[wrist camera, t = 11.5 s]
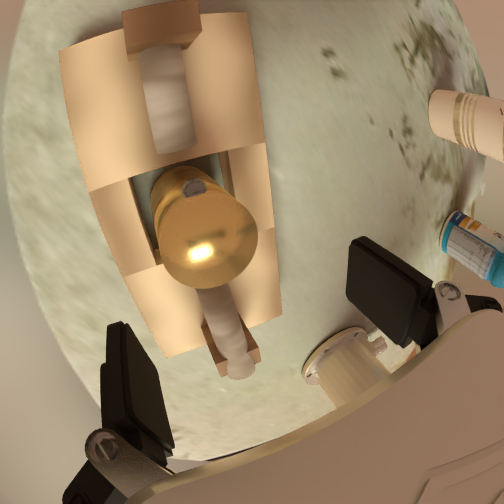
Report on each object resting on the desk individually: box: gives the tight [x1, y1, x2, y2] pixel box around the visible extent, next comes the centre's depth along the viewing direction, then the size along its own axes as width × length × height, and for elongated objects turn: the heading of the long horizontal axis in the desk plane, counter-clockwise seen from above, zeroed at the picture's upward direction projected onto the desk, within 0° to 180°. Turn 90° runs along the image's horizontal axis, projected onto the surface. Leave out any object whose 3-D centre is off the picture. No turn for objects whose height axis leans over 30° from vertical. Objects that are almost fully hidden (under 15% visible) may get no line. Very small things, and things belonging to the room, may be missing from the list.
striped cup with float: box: [428, 89, 504, 164], centre depth 21 cm, size 10×8×12 cm
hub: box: [150, 166, 258, 289], centre depth 16 cm, size 5×6×8 cm
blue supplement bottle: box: [440, 211, 504, 288], centre depth 32 cm, size 8×8×20 cm
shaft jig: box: [59, 0, 282, 380], centre depth 16 cm, size 12×26×8 cm, turn 8°
